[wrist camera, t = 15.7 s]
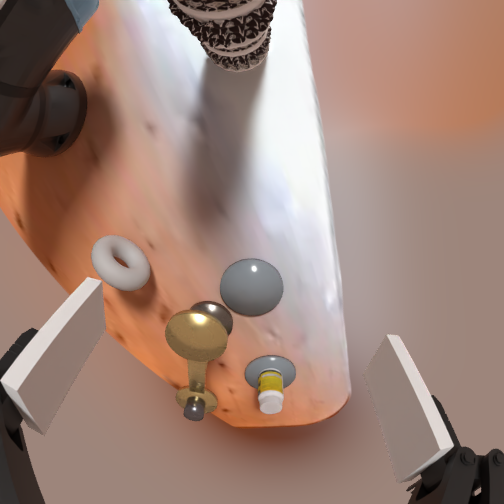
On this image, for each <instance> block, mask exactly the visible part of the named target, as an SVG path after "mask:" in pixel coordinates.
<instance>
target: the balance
mask: <svg viewBox="0 0 504 504" xmlns="http://www.w3.org/2000/svg"><path fill="white" fill-rule="evenodd" d="M232 325H233V319H232V316H231V314H230V312H229V311H228V310H227V309H226V308H225V307H224V306H223V305H221V304H219V303H216V302H212V301H203V302H199V303H197V304H195V305H193V306H192V307H191V309H190V310H184V311H181V312H178V313H176V314H175V315H173V316H172V317H171V319H170V320H169V322H168V324H167V327H166V330H165V337H166V340H167V343H168V344H169V346H170V347H171V348H172V350H173V351H174V352H176V353H177V354H178V355H180V356H182V357H183V358H186V359H188V376H189V386H184V387H182V388H180V389H179V390H178V391H177V394H176V401H177V402H178V404H179V405H180V406H181V407H183V408H184V416H185V417H186V418H188V419H189V420H192V421H200V420H202V419H203V416H204V413H210V412H212V411H214V410H215V409H216V407H217V403H218V400H217V397H216V396H215V394H214V393H212V392H211V391H210V390H208V389H206V388H205V383H206V369H207V364H208V361H212V360H214V359H216V358H218V357H220V356H221V355H222V354H223V353H224V351H225V349H226V347H227V341H228V335H229V334H230V332H231V330H232Z"/></svg>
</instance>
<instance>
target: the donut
mask: <svg viewBox="0 0 504 504" xmlns="http://www.w3.org/2000/svg"><path fill="white" fill-rule="evenodd" d="M114 257H117V258H119V259H121V260H123V261H124V262H125V263H126V264H127V265H128V267H129V268H127V267H124V266H122V265H121V264H119V263H118V262H117V261H116V260H115V259H114ZM91 259H92V263H93V267H94V269H95V270H96V272H97V274H98V275H99V276H100V277H101V278H102V279H103V280H104V281H105V282H106V283H107V284H109V285H110V286H112V287H114V288H117V289H119V290H122V291H134V290H138V289H140V288H142V287H143V286H144V285H145V284H146V283H147V282H148V279H149V277H150V264H149V262H148V259H147V257H146V255H145V254H144V252H143V251H142V250H141V249H140V248H139V247H138V246H137V245H136V244H134V243H133V242H132V241H130V240H128V239H126V238H124V237H121V236H117V235H107V236H104V237H102V238H100V239H98V241H97V242H96V243H95V244H94V246H93V248H92V253H91Z"/></svg>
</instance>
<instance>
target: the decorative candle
mask: <svg viewBox="0 0 504 504" xmlns="http://www.w3.org/2000/svg"><path fill="white" fill-rule="evenodd" d="M167 1H168V2H169V3H170V7H169V9H170V10H171V13H172V14H173V15H175V16H177V17H178V18H179V19H180V22H181V24H183V25H184V26H185V27H188V28H189V30H190V32H191V34H192V35H193V36H196V37H197V38H198V40H199V41H200V42H201V43H200V44H201V46H202V47H203V49H204V50H205V52H206V53H207V54H208V56H209V57H210V58H211V59H212V61H213V62H214V63H215V64H216V65H217V66H219V67H221V68H223V69H224V70H226V71H233V72H242V71H248V70H251V69H253V68H254V67H256V66H258V65H260V64H261V62H262V61H263V60H264V59H265V57H266V56H267V53H268V51H269V43H270V39H271V37H270V35H271V27H270V26H269V25H270V22H271V21H272V20H273V12H274V10H275V6H276V4H277V0H167ZM187 14H188V16H187Z"/></svg>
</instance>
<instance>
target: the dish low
mask: <svg viewBox="0 0 504 504" xmlns="http://www.w3.org/2000/svg"><path fill="white" fill-rule="evenodd" d="M267 368H274V369H277V370H279V371H280V372H281V373H282V377H283V388H286V387H287V386H289V385H290V384H291V383H292V382H293V381H294V379H295V376H296V370H295V366H294V365H293V363H292V362H291V361H289V360H288V359H286V358H284V357H281V356H275V355H268V356H262V357H259V358H256V359H254V360H253V361H251V362H250V363H249V364H248V365H247V367H246V370H245V378H246V380H247V382H248V383H249V384H250V385H251V386H252V387H254V388H256V389H258V375H259V373H260V372H261V371H262V370H264V369H267Z"/></svg>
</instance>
